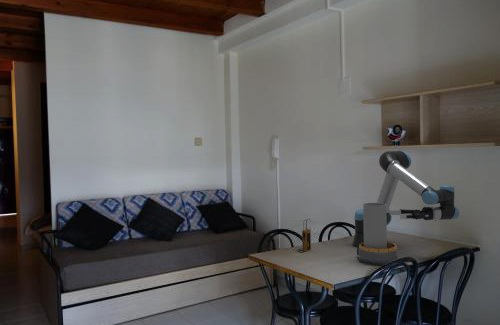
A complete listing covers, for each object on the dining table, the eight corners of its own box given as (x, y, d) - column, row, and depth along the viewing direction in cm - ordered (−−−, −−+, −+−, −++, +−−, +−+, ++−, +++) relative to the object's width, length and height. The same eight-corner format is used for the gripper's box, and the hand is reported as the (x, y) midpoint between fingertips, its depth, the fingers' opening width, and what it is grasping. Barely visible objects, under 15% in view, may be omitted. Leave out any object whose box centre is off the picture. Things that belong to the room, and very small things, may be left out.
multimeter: (299, 246, 287) (298, 216, 287) (313, 248, 282) (312, 217, 281) (289, 251, 275) (288, 219, 274) (304, 253, 269) (303, 220, 269)
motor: (347, 258, 253) (347, 243, 253) (373, 253, 264) (373, 238, 264) (379, 267, 233) (379, 251, 233) (405, 261, 244) (405, 245, 243)
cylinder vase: (389, 250, 241) (389, 205, 240) (367, 251, 241) (366, 205, 240) (382, 245, 254) (382, 202, 253) (361, 246, 254) (360, 203, 253)
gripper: (442, 224, 237) (405, 225, 235) (420, 216, 262) (385, 217, 259) (442, 210, 237) (405, 211, 234) (420, 203, 261) (385, 204, 259)
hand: (394, 214), depth 247 cm, fingers open, 13 cm apart
